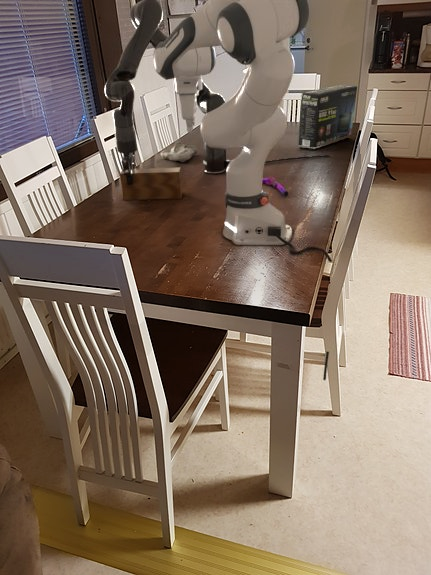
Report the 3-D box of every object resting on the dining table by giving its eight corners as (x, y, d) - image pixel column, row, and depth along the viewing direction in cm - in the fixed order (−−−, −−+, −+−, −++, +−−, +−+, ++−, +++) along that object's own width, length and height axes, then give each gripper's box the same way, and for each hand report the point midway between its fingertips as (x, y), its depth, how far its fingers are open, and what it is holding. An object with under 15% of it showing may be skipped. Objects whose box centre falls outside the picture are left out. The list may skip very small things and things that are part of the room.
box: (182, 193, 185) (180, 167, 179) (181, 198, 180) (179, 171, 174) (126, 194, 186) (122, 169, 180) (123, 200, 180) (119, 173, 175)
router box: (314, 151, 231) (318, 94, 217) (296, 148, 237) (299, 92, 224) (352, 138, 251) (358, 85, 238) (335, 135, 258) (340, 83, 245)
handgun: (255, 182, 193) (255, 177, 192) (273, 180, 195) (273, 175, 194) (269, 198, 176) (269, 193, 175) (289, 195, 177) (289, 191, 176)
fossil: (184, 156, 217) (163, 136, 220) (174, 174, 223) (154, 154, 227) (205, 153, 231) (186, 134, 234) (195, 171, 237) (176, 152, 240)
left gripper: (119, 134, 177) (125, 176, 186) (111, 143, 165) (118, 188, 174) (139, 133, 177) (144, 176, 186) (132, 142, 165) (138, 188, 173)
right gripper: (181, 80, 157) (184, 122, 165) (175, 89, 140) (179, 135, 147) (199, 79, 157) (201, 121, 164) (196, 88, 140) (198, 135, 147)
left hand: (131, 182), depth 180 cm, fingers closed on box, 6 cm apart
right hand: (191, 128), depth 156 cm, fingers open, 8 cm apart
